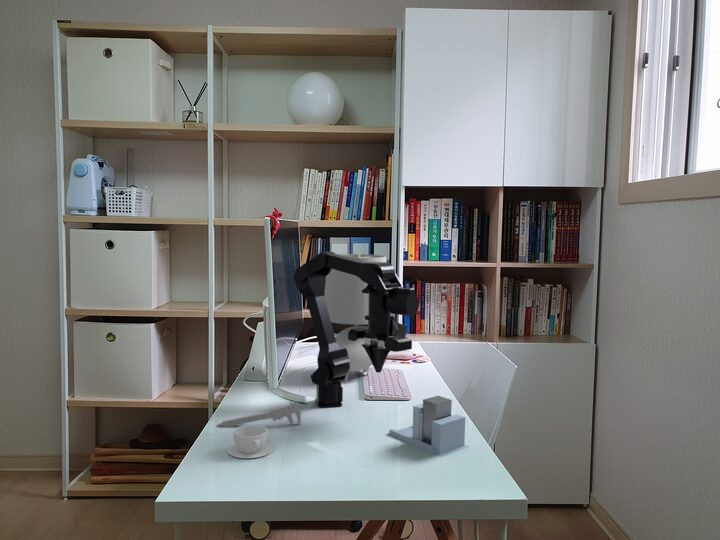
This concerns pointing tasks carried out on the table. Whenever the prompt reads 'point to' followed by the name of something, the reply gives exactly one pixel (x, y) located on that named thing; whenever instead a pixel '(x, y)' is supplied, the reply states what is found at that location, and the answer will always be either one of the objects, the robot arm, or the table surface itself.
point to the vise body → (439, 435)
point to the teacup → (250, 442)
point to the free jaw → (417, 421)
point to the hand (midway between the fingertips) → (378, 372)
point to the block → (434, 414)
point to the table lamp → (350, 310)
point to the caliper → (267, 416)
